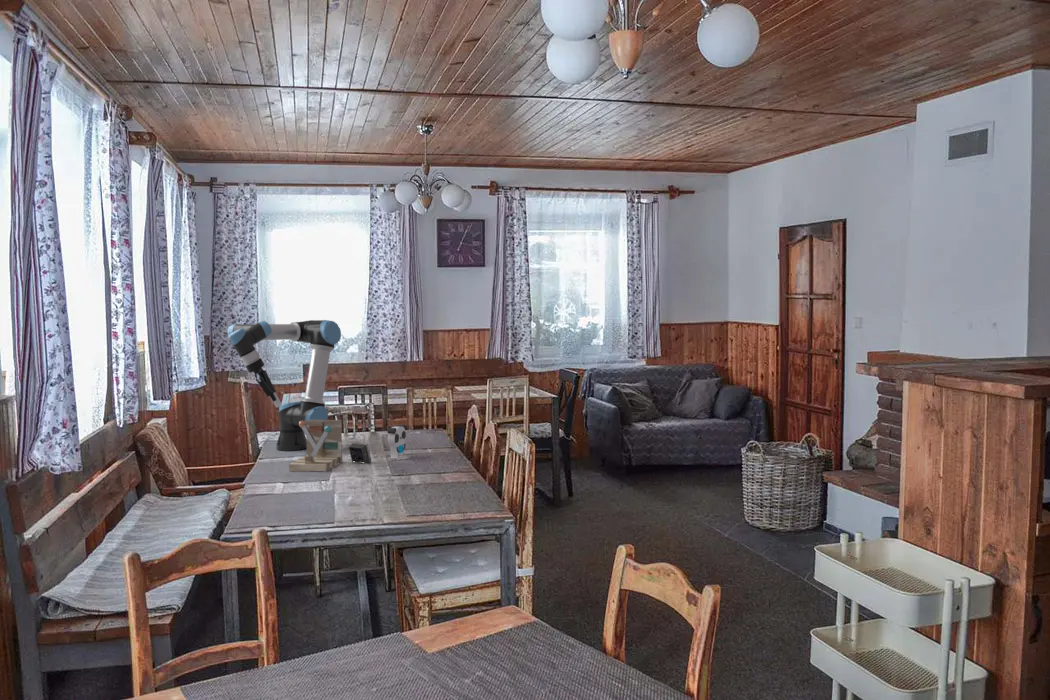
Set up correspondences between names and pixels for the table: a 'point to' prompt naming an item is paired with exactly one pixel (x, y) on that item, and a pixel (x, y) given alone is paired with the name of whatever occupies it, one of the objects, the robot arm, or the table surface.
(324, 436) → the teal lever
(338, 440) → the switch unit
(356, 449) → the electrical switch
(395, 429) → the panda figurine
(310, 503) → the table surface
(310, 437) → the terracotta lever
